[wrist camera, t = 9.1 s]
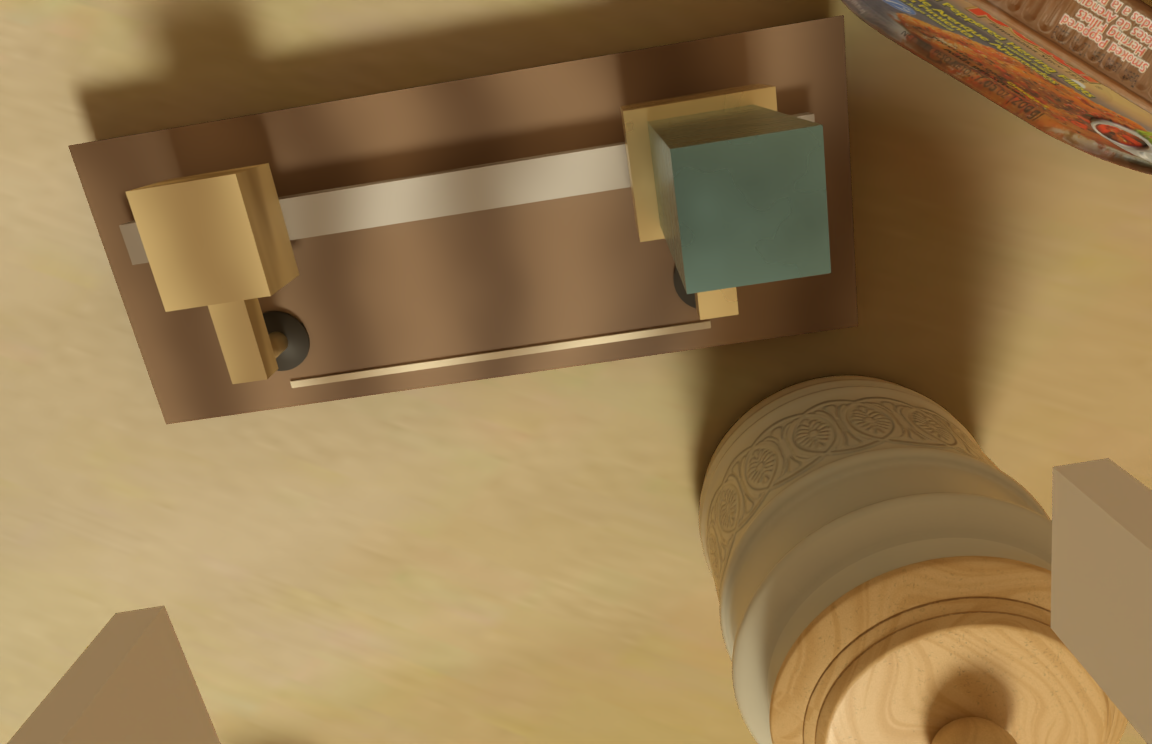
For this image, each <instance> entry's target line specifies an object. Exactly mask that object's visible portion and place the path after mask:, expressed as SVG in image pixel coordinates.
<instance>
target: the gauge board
mask: <svg viewBox="0 0 1152 744" xmlns="http://www.w3.org/2000/svg"><path fill="white" fill-rule="evenodd" d="M752 84H764V85H770V86H776V100H777V111H778V112H781V113H784V114H788V115H791V116H795V117H798V118H801V119H805V120H808V121H812V122H815V123H818V124H822V125H823V139H824V157H825V175H826V192H827V210H828V228H829V245H830V263H831V273H828V274H821V275H814V276H808V277H801V278H794V279H787V280H780V281H774V282H767V283H760V284H753V285H746V286H739V287H736V291H737V301H738V312H739V315H732V316H725V317H718V318H711V319H704V320H700V318H699V316H698V313H697V310H696V301H695V293H692V294H687V293H686V290H685V288H684V285H683V283H682V280H681V278H680V275H679V273H678V270H677V267H676V265H675V262H674V260H673V257H672V255H671V252H670V250H669V247H668V245H667V242H666V239H658V240H652V241H645V242H640V239H639V235H638V231H637V227H636V221H635V213H634V206H633V198H632V191H631V183H630V176H629V169H628V161H627V154H626V146H625V139H624V131H623V124H622V116H621V109H620V106H624V105H630V104H636V103H642V102H648V101H654V100H661V99H667V98H673V97H679V96H685V95H691V94H697V93H703V92H709V91H715V90H722V89H728V88H734V87H740V86H746V85H752ZM69 149H70V152H71V155H72V158H73V161H74V163H75V166H76V169H77V172H78V175H79V178H80V181H81V183H82V186H83V189H84V192H85V195H86V198H87V200H88V203H89V206H90V209H91V212H92V215H93V217H94V220H95V223H96V226H97V229H98V232H99V235H100V237H101V240H102V243H103V246H104V249H105V252H106V254H107V257H108V260H109V263H110V266H111V269H112V272H113V274H114V277H115V280H116V283H117V286H118V289H119V291H120V294H121V297H122V300H123V303H124V306H125V308H126V311H127V314H128V317H129V320H130V323H131V326H132V328H133V331H134V334H135V337H136V340H137V343H138V345H139V348H140V351H141V354H142V357H143V360H144V362H145V365H146V368H147V371H148V374H149V377H150V380H151V382H152V385H153V388H154V391H155V394H156V397H157V399H158V402H159V405H160V408H161V411H162V414H163V416H164V419H165V422H166V424H171V423H178V422H185V421H192V420H199V419H206V418H213V417H220V416H227V415H235V414H242V413H249V412H256V411H263V410H270V409H277V408H284V407H291V406H298V405H305V404H312V403H319V402H326V401H333V400H340V399H347V398H354V397H361V396H368V395H375V394H382V393H389V392H397V391H404V390H411V389H418V388H425V387H432V386H439V385H446V384H453V383H460V382H467V381H474V380H481V379H488V378H495V377H502V376H509V375H516V374H523V373H530V372H537V371H544V370H552V369H559V368H566V367H573V366H580V365H587V364H594V363H601V362H608V361H615V360H622V359H629V358H636V357H643V356H650V355H657V354H664V353H671V352H678V351H685V350H692V349H699V348H706V347H714V346H721V345H728V344H735V343H742V342H749V341H756V340H763V339H770V338H777V337H784V336H791V335H798V334H805V333H812V332H819V331H826V330H833V329H840V328H847V327H854V326H858V314H857V293H856V271H855V250H854V228H853V207H852V185H851V164H850V142H849V121H848V99H847V78H846V56H845V35H844V15H842V16H836V17H830V18H824V19H818V20H812V21H807V22H801V23H795V24H789V25H783V26H777V27H771V28H765V29H759V30H753V31H747V32H741V33H735V34H729V35H723V36H717V37H711V38H706V39H700V40H694V41H688V42H682V43H676V44H670V45H664V46H658V47H652V48H646V49H640V50H634V51H628V52H622V53H616V54H610V55H605V56H599V57H593V58H587V59H581V60H575V61H569V62H563V63H557V64H551V65H545V66H539V67H533V68H527V69H521V70H515V71H510V72H504V73H498V74H492V75H486V76H480V77H474V78H468V79H462V80H456V81H450V82H444V83H438V84H432V85H426V86H420V87H414V88H409V89H403V90H397V91H391V92H385V93H379V94H373V95H367V96H361V97H355V98H349V99H343V100H337V101H331V102H325V103H319V104H314V105H308V106H302V107H296V108H290V109H284V110H278V111H272V112H266V113H260V114H254V115H248V116H242V117H236V118H230V119H224V120H218V121H213V122H207V123H201V124H195V125H189V126H183V127H177V128H171V129H165V130H159V131H153V132H147V133H141V134H135V135H129V136H123V137H117V138H112V139H106V140H100V141H94V142H88V143H82V144H76V145H70V146H69Z"/></svg>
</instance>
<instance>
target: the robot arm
mask: <svg viewBox="0 0 1152 744" xmlns="http://www.w3.org/2000/svg"><path fill="white" fill-rule="evenodd" d="M1051 629H1052V630H1053V631H1054V632H1055V634H1056V635H1057V636H1058V637H1059V638H1060V640H1061V641H1062V642H1063V643H1064V644H1065V646H1066V647H1067V648H1068V649H1069V650H1070V652H1071V653H1072V654H1073V655H1074V656H1075V658H1076V659H1077V660H1078V661H1079V662H1080V664H1081V665H1082V666H1083V667H1084V668H1085V670H1086V671H1087V672H1088V673H1089V674H1090V676H1091V677H1092V678H1093V679H1094V680H1095V681H1096V683H1097V684H1098V685H1099V686H1100V687H1101V689H1102V690H1103V691H1104V692H1105V693H1106V695H1107V696H1108V697H1109V698H1110V699H1111V701H1112V702H1113V703H1114V704H1115V705H1116V707H1117V708H1118V709H1119V710H1120V711H1121V713H1122V714H1123V715H1124V716H1125V717H1126V719H1127V720H1128V721H1129V722H1130V723H1131V725H1132V726H1133V727H1134V728H1135V729H1136V731H1137V732H1138V733H1139V734H1140V735H1141V737H1142V738H1143V739H1144V740H1145V741H1146V742H1147V744H1152V490H1150V489H1149V488H1148V487H1146V486H1145V485H1144V484H1142V483H1141V482H1140V481H1138V480H1137V479H1136V478H1134V477H1133V476H1132V475H1130V474H1129V473H1127V472H1126V471H1125V470H1123V469H1122V468H1121V467H1119V466H1118V465H1117V464H1115V463H1114V462H1113V461H1111V460H1110V459H1109V458H1106V459H1100V460H1094V461H1087V462H1081V463H1074V464H1068V465H1062V466H1055V467H1053V490H1052V562H1051ZM7 744H221V743H220V741H219V739H218V736H217V734H216V731H215V729H214V726H213V724H212V721H211V719H210V717H209V714H208V712H207V709H206V707H205V704H204V702H203V699H202V697H201V694H200V692H199V690H198V687H197V685H196V682H195V680H194V677H193V675H192V672H191V670H190V668H189V665H188V663H187V660H186V658H185V655H184V653H183V650H182V648H181V646H180V643H179V641H178V638H177V636H176V633H175V631H174V628H173V626H172V624H171V621H170V619H169V616H168V614H167V611H166V609H165V606H159V607H152V608H146V609H139V610H133V611H127V612H120V613H116V614H115V615H114V616H113V617H112V618H111V620H110V621H109V622H108V623H107V624H106V626H105V627H104V628H103V629H102V630H101V632H100V633H99V634H98V635H97V636H96V638H95V639H94V640H93V641H92V642H91V644H90V645H89V646H88V647H87V648H86V650H85V651H84V652H83V653H82V654H81V656H80V657H79V658H78V659H77V660H76V662H75V663H74V664H73V665H72V666H71V668H70V669H69V670H68V671H67V672H66V674H65V675H64V676H63V677H62V678H61V680H60V681H59V682H58V683H57V684H56V686H55V687H54V688H53V689H52V690H51V692H50V693H49V694H48V695H47V696H46V698H45V699H44V700H43V701H42V702H41V704H40V705H39V706H38V707H37V708H36V710H35V711H34V712H33V713H32V714H31V716H30V717H29V718H28V719H27V720H26V722H25V723H24V724H23V725H22V726H21V728H20V729H19V730H18V731H17V732H16V734H15V735H14V736H13V737H12V738H11V740H10V741H9V742H8V743H7Z"/></svg>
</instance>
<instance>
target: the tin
mask: <svg viewBox="0 0 1152 744" xmlns="http://www.w3.org/2000/svg"><path fill="white" fill-rule="evenodd" d="M842 1H843V3H844V4H845V5H846V6H847V7H848V8H849V9H850V10H851V11H852V12H853V13H854V14H856V15H857V16H858V17H859V18H860V19H861V20H863V21H864V22H865V23H867V24H868V25H869V26H871V27H872V28H874V29H876V30H877V31H878V32H880V33H881V34H883V35H884V36H886V37H887V38H889V39H891V40H892V41H894V42H895V43H897V44H899V45H900V46H902V47H903V48H905V49H907V50H909V51H910V52H912V53H913V54H915V55H917V56H918V57H920V58H922V59H923V60H925V61H927V62H929V63H930V64H932V65H934V66H935V67H937V68H938V69H940V70H942V71H943V72H945V73H947V74H949V75H950V76H952V77H953V78H955V79H957V80H958V81H960V82H962V83H963V84H965V85H967V86H968V87H970V88H971V89H973V90H975V91H976V92H978V93H980V94H981V95H983V96H985V97H986V98H988V99H989V100H991V101H993V102H994V103H996V104H998V105H999V106H1001V107H1003V108H1004V109H1006V110H1008V111H1009V112H1011V113H1013V114H1014V115H1016V116H1018V117H1019V118H1021V119H1023V120H1024V121H1026V122H1027V123H1029V124H1031V125H1032V126H1034V127H1036V128H1037V129H1039V130H1041V131H1043V132H1045V133H1046V134H1048V135H1050V136H1052V137H1054V138H1056V139H1058V140H1060V141H1062V142H1064V143H1066V144H1069V145H1071V146H1073V147H1075V148H1077V149H1079V150H1081V151H1084V152H1086V153H1088V154H1090V155H1093V156H1095V157H1098V158H1100V159H1102V160H1105V161H1109V162H1111V163H1114V164H1117V165H1119V166H1123V167H1126V168H1129V169H1132V170H1135V171H1139V172H1143V173H1146V174H1151V175H1152V7H1150V6H1149V5H1147V4H1146V3H1144V2H1143V1H1141V0H842Z"/></svg>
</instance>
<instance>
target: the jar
mask: <svg viewBox="0 0 1152 744" xmlns="http://www.w3.org/2000/svg"><path fill="white" fill-rule="evenodd" d="M699 531H700V537H701V543H702V548H703V553H704V556H705V560H706V563H707V565H708V568H709V570H710V572H711V574H712V576H713V578H714V582H715V586H716V591H717V595H718V600H719V604H720V624H721V630H722V635H723V639H724V643H725V646H726V649H727V652H728V654H729V657H730V659H731V661H732V679H733V688H734V693H735V698H736V701H737V705H738V708H739V711H740V713H741V716H742V718H743V720H744V722H745V724H746V726H747V728H748V730H749V731H750V733H751V734H752V736H753V738H754V739H755V740H756V742H757V743H758V744H1118V743H1119V741H1120V739H1121V737H1122V735H1123V733H1124V730H1125V728H1126V725H1127V722H1128V720H1127V719H1126V717H1125V716H1124V715H1123V714H1122V713H1121V711H1120V710H1119V709H1118V708H1117V707H1116V705H1115V704H1114V703H1113V702H1112V701H1111V699H1110V698H1109V697H1108V696H1107V695H1106V693H1105V692H1104V691H1103V690H1102V689H1101V687H1100V686H1099V685H1098V684H1097V683H1096V681H1095V680H1094V679H1093V678H1092V677H1091V676H1090V674H1089V673H1088V672H1087V671H1086V670H1085V668H1084V667H1083V666H1082V665H1081V664H1080V662H1079V661H1078V660H1077V659H1076V658H1075V656H1074V655H1073V654H1072V653H1071V652H1070V650H1069V649H1068V648H1067V647H1066V646H1065V644H1064V643H1063V642H1062V641H1061V640H1060V638H1059V637H1058V636H1057V635H1056V634H1055V632H1054V631H1053V630H1052V629H1051V562H1052V520H1050V518H1049V516H1048V515H1047V513H1046V512H1045V511H1044V509H1043V508H1042V506H1041V505H1040V504H1039V503H1038V502H1037V500H1036V499H1035V498H1034V497H1033V496H1032V495H1031V494H1030V493H1029V492H1028V491H1027V490H1026V489H1025V488H1024V487H1023V486H1022V485H1021V484H1019V483H1018V482H1017V481H1016V480H1014V479H1013V478H1011V477H1010V476H1008V475H1007V474H1005V473H1004V472H1002V471H1001V470H1000V469H999V468H998V467H997V466H996V465H995V464H994V463H993V462H992V461H991V460H990V459H989V458H988V457H987V456H986V455H985V454H984V453H983V452H982V450H981V448H980V447H979V445H978V443H977V442H976V441H975V439H974V438H973V436H972V435H971V434H970V433H969V432H968V431H967V429H966V428H965V427H964V426H963V425H962V424H961V423H960V422H959V421H958V420H956V419H955V418H954V417H953V416H952V415H951V414H950V413H949V412H948V411H947V410H945V409H944V408H943V407H942V406H940V405H939V404H937V403H936V402H934V401H933V400H931V399H929V398H927V397H925V396H924V395H922V394H919V393H917V392H915V391H913V390H910V389H907V388H905V387H903V386H900V385H898V384H895V383H892V382H889V381H886V380H882V379H877V378H872V377H865V376H851V375H844V376H830V377H822V378H817V379H812V380H808V381H805V382H801V383H798V384H795V385H792V386H790V387H787V388H785V389H783V390H781V391H779V392H777V393H775V394H773V395H771V396H769V397H767V398H766V399H764V400H762V401H761V402H760V403H758V404H757V405H755V406H754V407H753V408H751V409H750V410H749V411H748V412H746V413H745V414H744V415H743V416H742V417H741V418H740V419H739V420H738V421H737V422H736V423H735V424H734V425H733V426H732V427H731V428H730V430H729V431H728V432H727V433H726V435H725V436H724V437H723V439H722V440H721V442H720V443H719V445H718V447H717V448H716V450H715V452H714V454H713V456H712V458H711V460H710V463H709V465H708V468H707V471H706V474H705V478H704V482H703V488H702V492H701V497H700V504H699Z"/></svg>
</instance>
